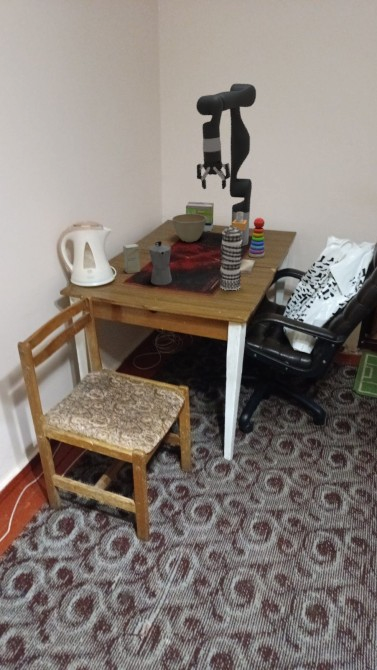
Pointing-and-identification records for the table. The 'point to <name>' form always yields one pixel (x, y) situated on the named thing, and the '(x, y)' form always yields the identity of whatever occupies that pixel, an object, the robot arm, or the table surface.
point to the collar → (240, 225)
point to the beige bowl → (189, 226)
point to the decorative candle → (231, 258)
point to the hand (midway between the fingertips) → (214, 188)
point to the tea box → (202, 212)
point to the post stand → (244, 264)
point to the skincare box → (131, 258)
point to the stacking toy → (257, 239)
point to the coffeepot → (160, 264)
